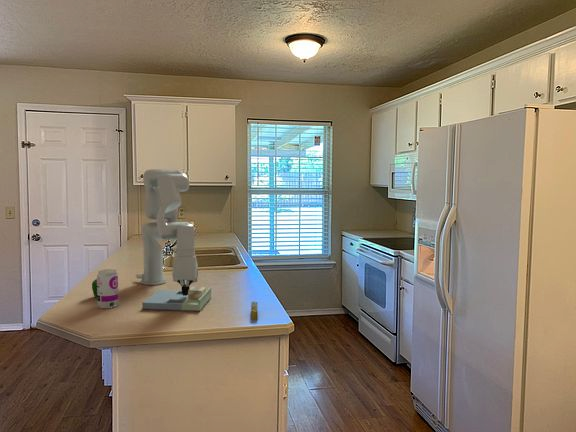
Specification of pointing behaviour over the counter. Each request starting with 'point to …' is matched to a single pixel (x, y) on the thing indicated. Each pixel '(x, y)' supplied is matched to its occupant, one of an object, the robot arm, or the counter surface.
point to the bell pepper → (94, 287)
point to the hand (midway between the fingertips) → (185, 294)
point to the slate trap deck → (175, 301)
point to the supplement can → (107, 288)
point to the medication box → (254, 311)
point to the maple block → (196, 293)
